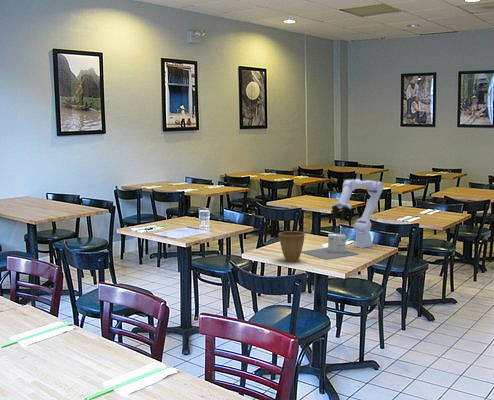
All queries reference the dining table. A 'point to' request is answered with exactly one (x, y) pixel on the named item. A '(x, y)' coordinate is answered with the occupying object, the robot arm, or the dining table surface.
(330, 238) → the light bulb box
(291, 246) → the plant pot
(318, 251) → the mat
